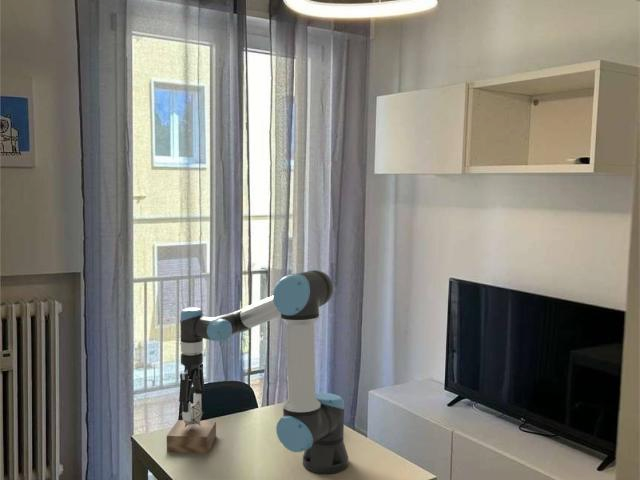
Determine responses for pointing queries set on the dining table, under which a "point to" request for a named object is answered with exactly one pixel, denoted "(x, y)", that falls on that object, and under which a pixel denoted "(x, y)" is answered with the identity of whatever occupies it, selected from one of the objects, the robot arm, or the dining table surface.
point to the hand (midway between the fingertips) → (192, 415)
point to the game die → (194, 414)
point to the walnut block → (191, 437)
